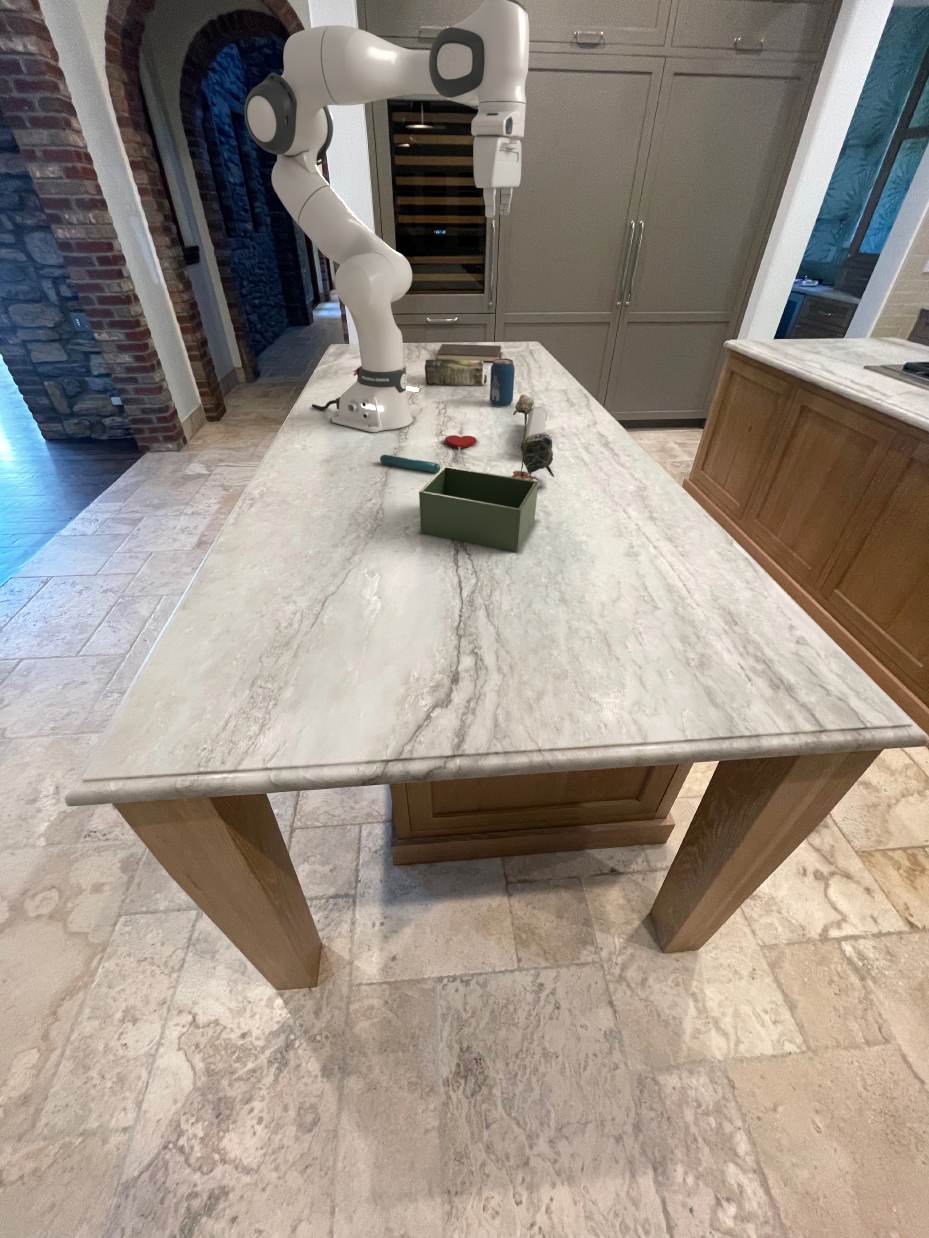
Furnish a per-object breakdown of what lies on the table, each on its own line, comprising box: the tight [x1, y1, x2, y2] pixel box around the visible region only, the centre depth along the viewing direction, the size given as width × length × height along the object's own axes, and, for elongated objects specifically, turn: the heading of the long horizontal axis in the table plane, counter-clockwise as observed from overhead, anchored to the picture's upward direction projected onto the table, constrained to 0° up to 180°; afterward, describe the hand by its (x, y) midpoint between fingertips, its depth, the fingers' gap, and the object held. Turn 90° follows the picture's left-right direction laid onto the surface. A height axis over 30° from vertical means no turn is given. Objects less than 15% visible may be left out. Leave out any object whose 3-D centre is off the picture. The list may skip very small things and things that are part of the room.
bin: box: [418, 465, 539, 553], centre depth 102 cm, size 19×12×8 cm, turn 70°
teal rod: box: [379, 454, 441, 474], centre depth 124 cm, size 15×2×2 cm, turn 70°
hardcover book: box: [436, 343, 502, 363], centre depth 203 cm, size 16×23×2 cm
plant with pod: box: [508, 394, 555, 489], centre depth 112 cm, size 8×11×20 cm
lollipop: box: [444, 434, 477, 462], centre depth 133 cm, size 8×1×15 cm
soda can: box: [489, 357, 516, 408], centre depth 157 cm, size 7×7×12 cm
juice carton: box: [424, 359, 488, 387], centre depth 176 cm, size 20×10×6 cm, turn 91°
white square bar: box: [526, 406, 548, 438], centre depth 136 cm, size 5×5×25 cm
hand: (497, 216), depth 111 cm, fingers open, 8 cm apart
